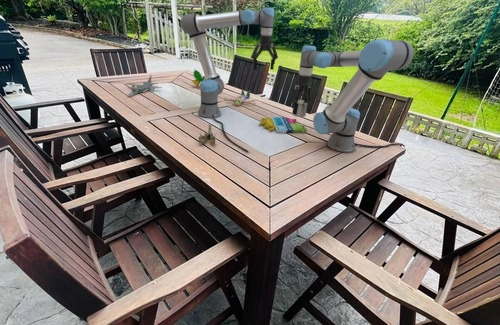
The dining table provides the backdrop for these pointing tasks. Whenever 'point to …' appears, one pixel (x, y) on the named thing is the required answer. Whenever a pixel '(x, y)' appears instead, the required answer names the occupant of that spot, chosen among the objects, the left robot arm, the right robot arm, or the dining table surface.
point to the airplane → (143, 87)
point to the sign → (282, 125)
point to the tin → (301, 108)
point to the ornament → (198, 78)
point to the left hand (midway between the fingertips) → (263, 69)
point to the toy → (241, 99)
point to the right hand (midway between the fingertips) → (299, 112)
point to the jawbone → (207, 136)
